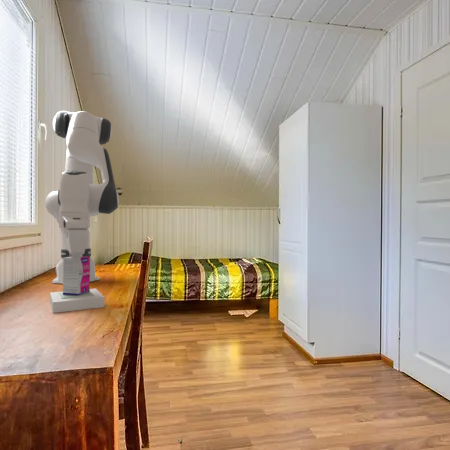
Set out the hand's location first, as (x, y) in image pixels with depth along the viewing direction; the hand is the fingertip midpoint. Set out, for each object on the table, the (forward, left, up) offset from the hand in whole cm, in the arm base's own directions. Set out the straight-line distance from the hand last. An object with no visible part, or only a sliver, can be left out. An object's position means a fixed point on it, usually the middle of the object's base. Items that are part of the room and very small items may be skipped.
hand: (74, 266), depth 110 cm
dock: (0, 0, -12) cm, 12 cm away
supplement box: (0, +1, -9) cm, 9 cm away
